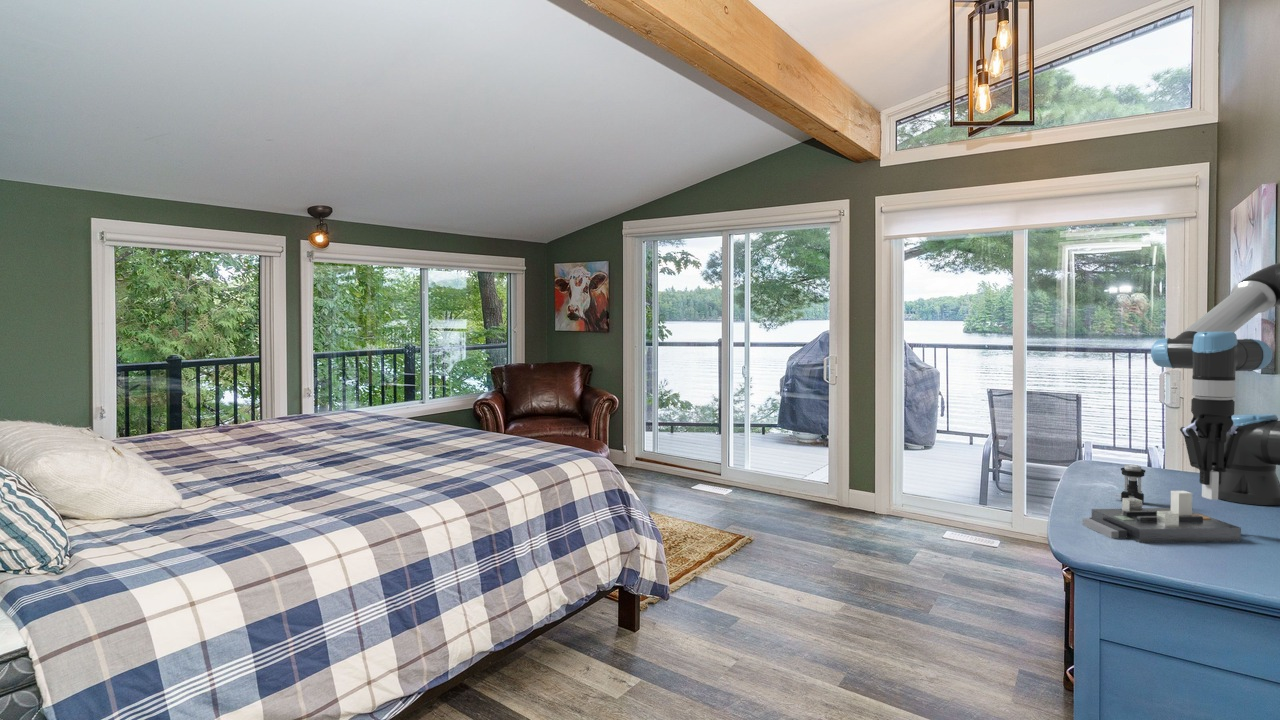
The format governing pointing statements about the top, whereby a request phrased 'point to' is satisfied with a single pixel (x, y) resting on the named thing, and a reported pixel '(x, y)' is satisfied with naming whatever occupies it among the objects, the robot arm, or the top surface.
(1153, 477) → the top surface
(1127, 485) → the push button
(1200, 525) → the panel
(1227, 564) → the top surface
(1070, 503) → the top surface
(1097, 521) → the narrow gray bar
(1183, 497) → the lever
